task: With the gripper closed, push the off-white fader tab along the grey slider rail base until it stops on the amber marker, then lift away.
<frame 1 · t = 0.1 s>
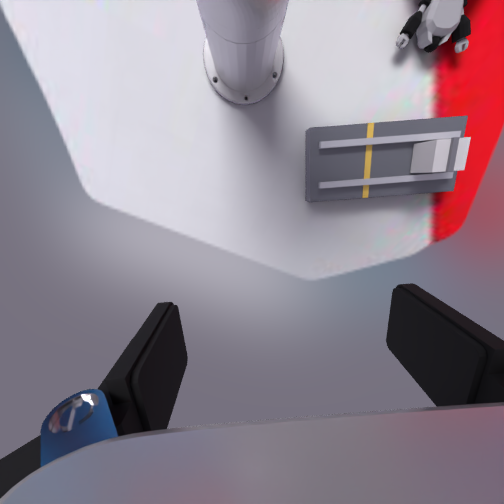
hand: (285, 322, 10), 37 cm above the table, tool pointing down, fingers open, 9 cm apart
fader tab: (439, 156, 37), point 6 cm above the table, slide at 0.0 cm
robot toy: (432, 0, 36), on the table
grey slider rail base: (375, 161, 43), on the table
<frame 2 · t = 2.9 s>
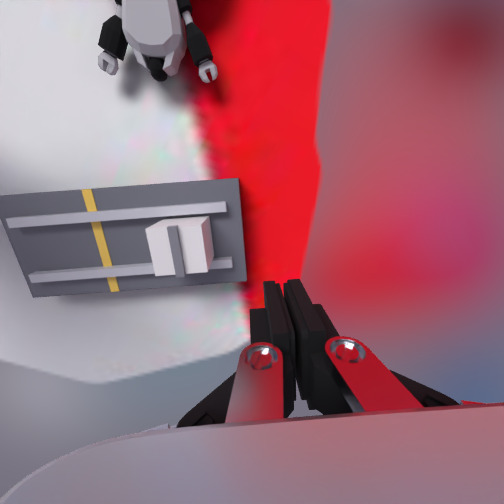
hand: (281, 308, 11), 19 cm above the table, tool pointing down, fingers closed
fader tab: (183, 244, 24), point 6 cm above the table, slide at 0.0 cm
grey slider rail base: (139, 235, 29), on the table
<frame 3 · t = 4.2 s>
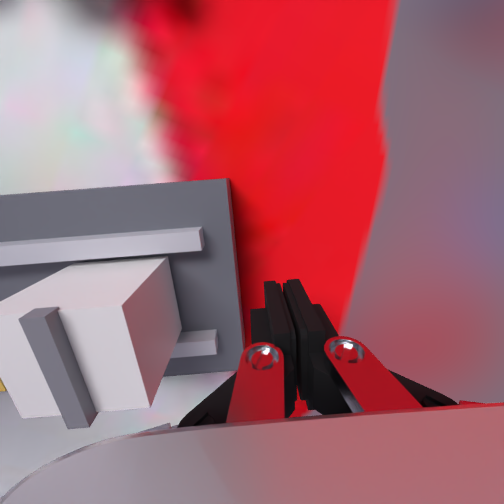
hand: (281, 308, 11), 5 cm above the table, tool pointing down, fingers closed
fader tab: (103, 328, 11), point 6 cm above the table, slide at 0.0 cm
grey slider rail base: (50, 282, 16), on the table
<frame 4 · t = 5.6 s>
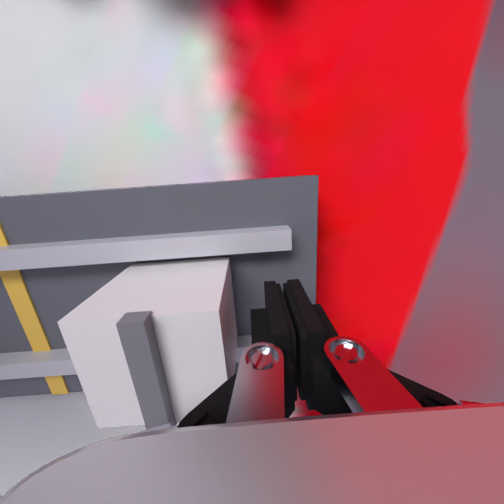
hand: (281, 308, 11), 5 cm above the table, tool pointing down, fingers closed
fader tab: (172, 332, 10), point 6 cm above the table, slide at 1.1 cm, touching gripper
grey slider rail base: (111, 282, 16), on the table
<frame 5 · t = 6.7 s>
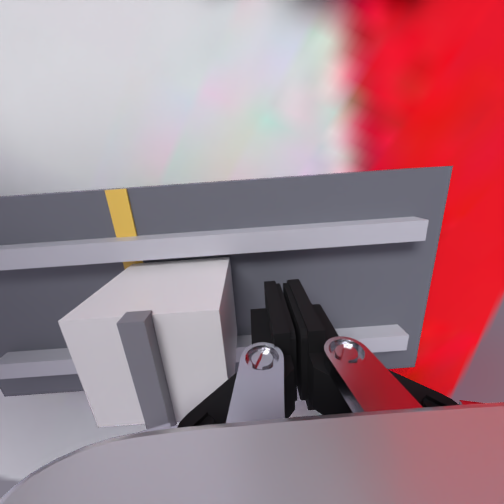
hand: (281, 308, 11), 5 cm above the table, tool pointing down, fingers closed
fader tab: (172, 331, 10), point 6 cm above the table, slide at 7.5 cm, touching gripper
grey slider rail base: (205, 275, 16), on the table
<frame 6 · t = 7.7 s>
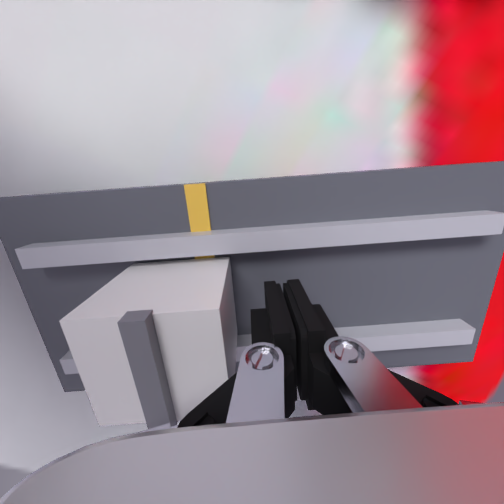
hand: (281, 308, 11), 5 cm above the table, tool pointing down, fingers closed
fader tab: (173, 331, 10), point 6 cm above the table, slide at 11.2 cm, touching gripper
grey slider rail base: (260, 271, 16), on the table
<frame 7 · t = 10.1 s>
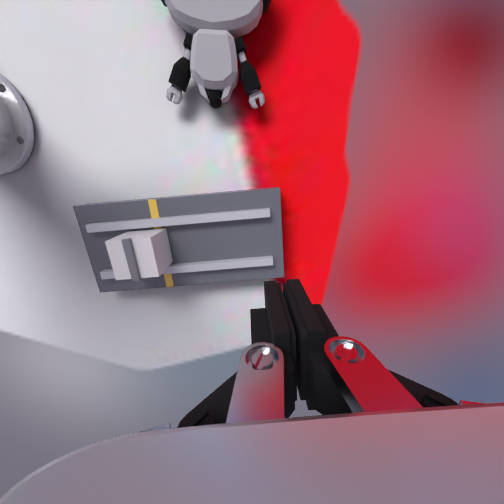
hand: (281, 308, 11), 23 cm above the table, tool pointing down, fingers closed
fader tab: (141, 253, 28), point 6 cm above the table, slide at 11.4 cm
robot toy: (218, 39, 27), on the table
grey slider rail base: (189, 238, 34), on the table
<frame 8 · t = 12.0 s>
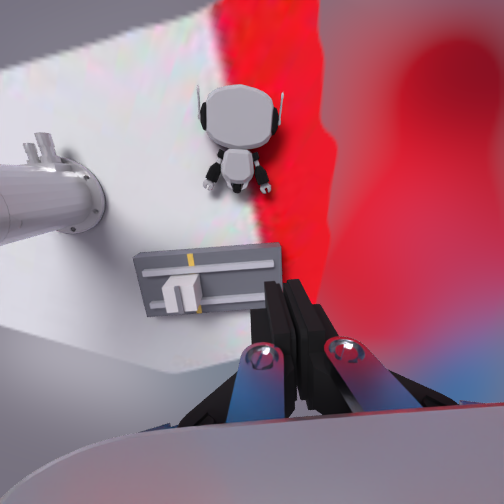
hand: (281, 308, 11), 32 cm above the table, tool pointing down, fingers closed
fader tab: (183, 292, 40), point 6 cm above the table, slide at 11.4 cm
robot toy: (239, 145, 39), on the table
grey slider rail base: (213, 276, 45), on the table
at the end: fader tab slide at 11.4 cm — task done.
